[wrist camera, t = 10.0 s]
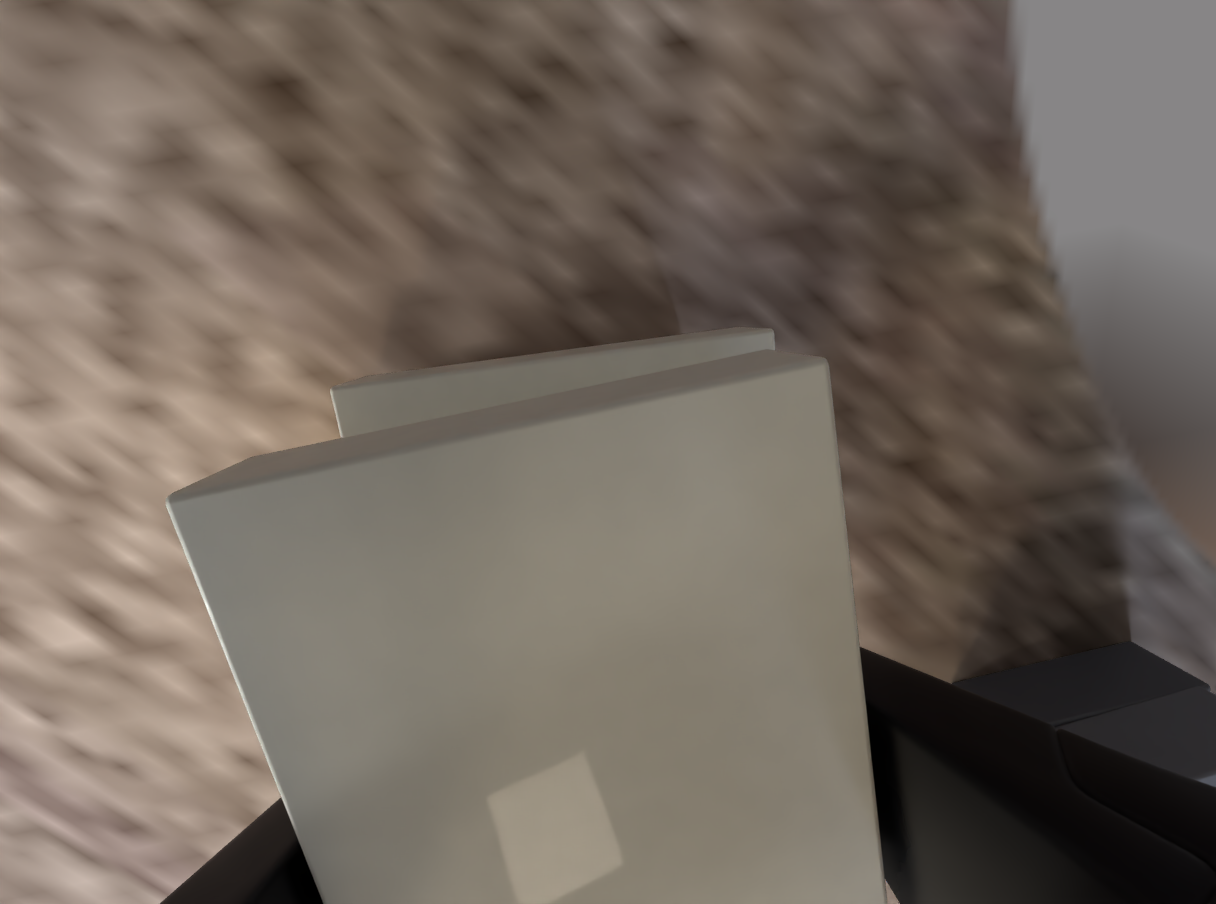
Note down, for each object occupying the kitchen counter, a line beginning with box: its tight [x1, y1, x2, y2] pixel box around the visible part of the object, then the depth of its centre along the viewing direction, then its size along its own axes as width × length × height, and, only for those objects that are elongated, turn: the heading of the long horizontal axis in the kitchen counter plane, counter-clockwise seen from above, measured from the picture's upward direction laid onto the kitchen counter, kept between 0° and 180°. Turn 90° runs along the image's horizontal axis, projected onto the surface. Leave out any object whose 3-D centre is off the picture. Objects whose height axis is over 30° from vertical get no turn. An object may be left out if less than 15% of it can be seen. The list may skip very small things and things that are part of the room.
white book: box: [166, 349, 887, 904], centre depth 6 cm, size 9×6×1 cm, turn 11°
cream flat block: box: [330, 327, 775, 438], centre depth 10 cm, size 10×6×3 cm, turn 11°
